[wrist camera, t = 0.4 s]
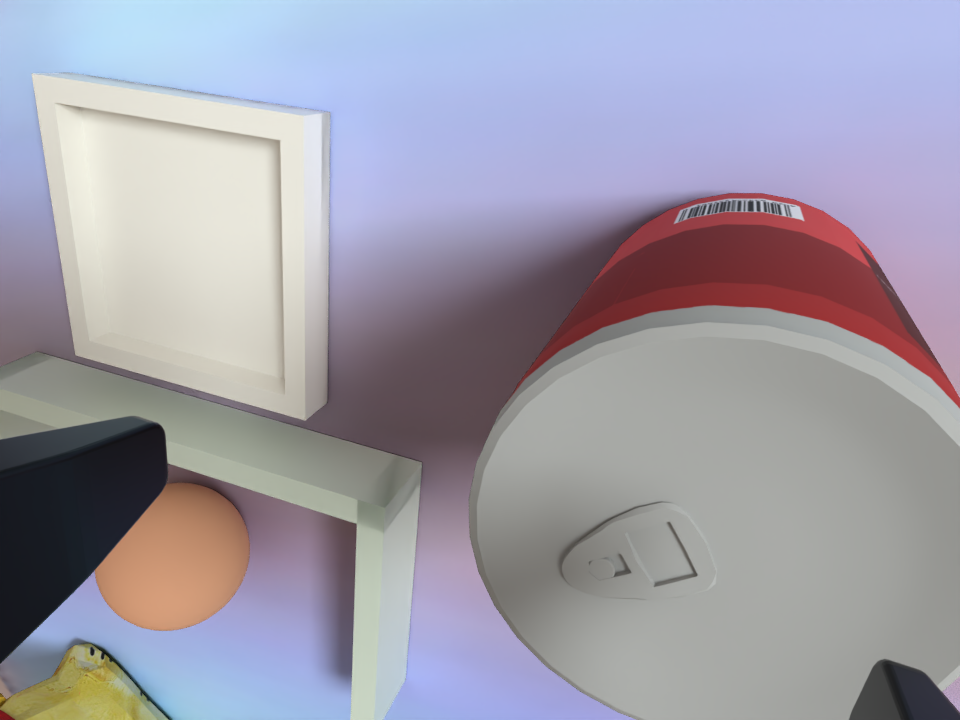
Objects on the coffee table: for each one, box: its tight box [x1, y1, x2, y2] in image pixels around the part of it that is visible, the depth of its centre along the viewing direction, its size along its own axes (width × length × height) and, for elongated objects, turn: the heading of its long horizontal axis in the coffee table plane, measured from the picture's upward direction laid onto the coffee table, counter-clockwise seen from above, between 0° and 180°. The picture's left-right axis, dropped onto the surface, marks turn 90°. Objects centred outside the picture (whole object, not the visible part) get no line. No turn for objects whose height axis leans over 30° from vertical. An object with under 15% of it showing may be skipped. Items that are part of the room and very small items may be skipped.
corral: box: [0, 352, 422, 720], centre depth 29 cm, size 11×18×3 cm, turn 84°
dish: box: [32, 73, 330, 420], centre depth 25 cm, size 10×10×2 cm
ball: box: [95, 483, 250, 631], centre depth 28 cm, size 6×6×6 cm
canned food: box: [469, 193, 960, 720], centre depth 16 cm, size 8×8×11 cm
